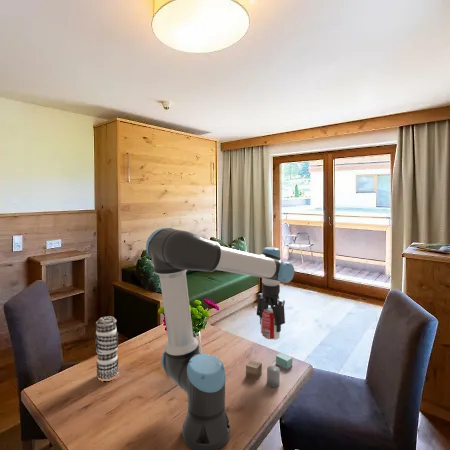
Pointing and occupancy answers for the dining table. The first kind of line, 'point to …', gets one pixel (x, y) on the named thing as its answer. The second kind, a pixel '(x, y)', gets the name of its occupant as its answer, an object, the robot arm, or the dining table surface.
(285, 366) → the teal block
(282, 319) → the robot arm
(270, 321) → the soda can
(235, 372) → the dining table surface
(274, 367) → the grey capsule
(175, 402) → the dining table surface
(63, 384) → the dining table surface
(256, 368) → the tan block
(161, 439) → the dining table surface
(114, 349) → the decorative candle
